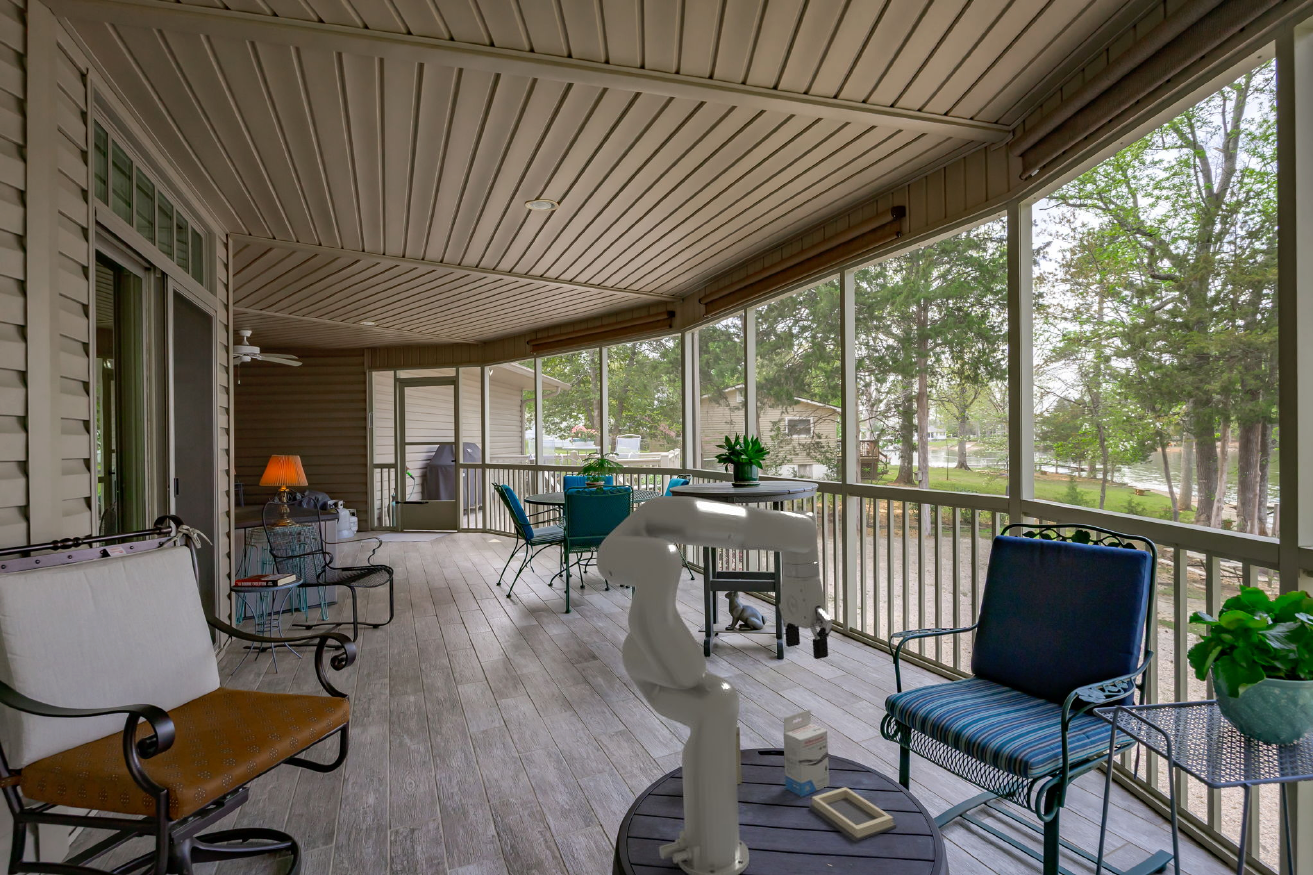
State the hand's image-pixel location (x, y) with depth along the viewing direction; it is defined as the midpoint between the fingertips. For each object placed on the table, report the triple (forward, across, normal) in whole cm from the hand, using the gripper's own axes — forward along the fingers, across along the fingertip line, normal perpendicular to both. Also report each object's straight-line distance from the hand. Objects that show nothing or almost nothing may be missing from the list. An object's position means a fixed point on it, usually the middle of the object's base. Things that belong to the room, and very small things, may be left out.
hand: (806, 651), depth 134 cm
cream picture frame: (+29, +11, 0) cm, 31 cm away
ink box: (+29, -2, 0) cm, 29 cm away
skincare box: (+29, -12, -15) cm, 35 cm away
